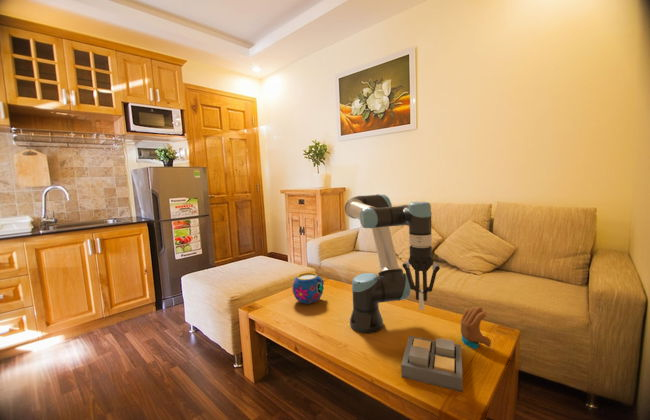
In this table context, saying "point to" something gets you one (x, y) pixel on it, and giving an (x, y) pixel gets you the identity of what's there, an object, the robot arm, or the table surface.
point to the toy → (473, 328)
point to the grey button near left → (419, 356)
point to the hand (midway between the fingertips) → (421, 308)
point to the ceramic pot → (308, 287)
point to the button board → (431, 374)
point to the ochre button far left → (422, 344)
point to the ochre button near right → (444, 364)
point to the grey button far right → (445, 347)
